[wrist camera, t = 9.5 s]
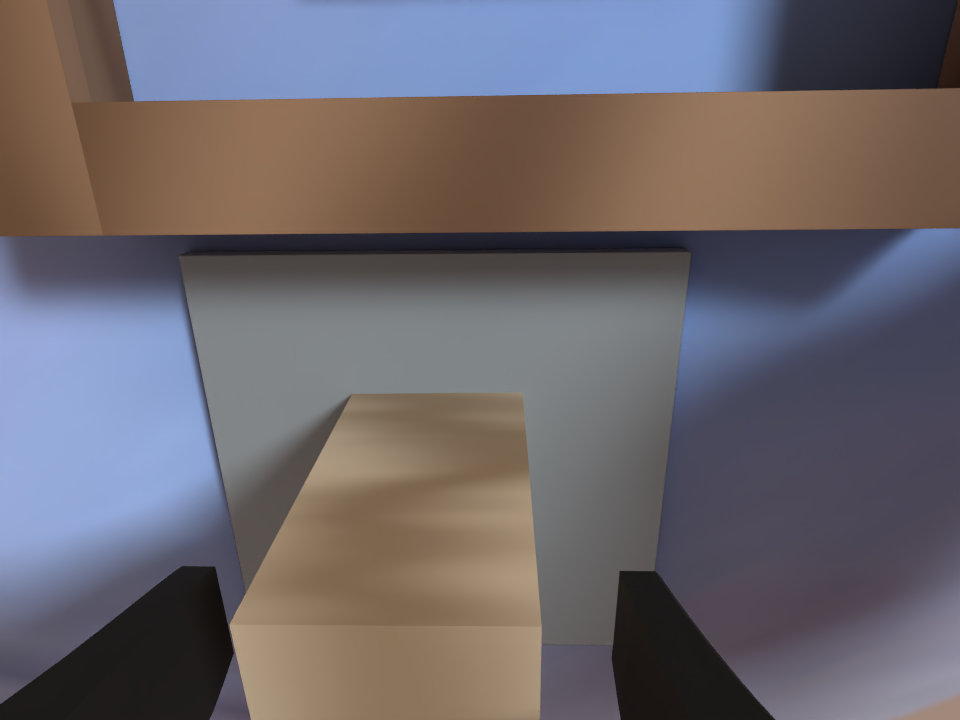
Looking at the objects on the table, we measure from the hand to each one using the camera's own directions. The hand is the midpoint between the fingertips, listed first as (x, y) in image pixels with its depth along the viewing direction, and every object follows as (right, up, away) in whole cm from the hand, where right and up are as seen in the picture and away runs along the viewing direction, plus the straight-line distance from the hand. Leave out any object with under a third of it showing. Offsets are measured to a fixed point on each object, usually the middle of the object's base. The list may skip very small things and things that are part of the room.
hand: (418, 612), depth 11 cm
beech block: (0, +2, +4) cm, 5 cm away
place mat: (0, +2, +5) cm, 5 cm away
